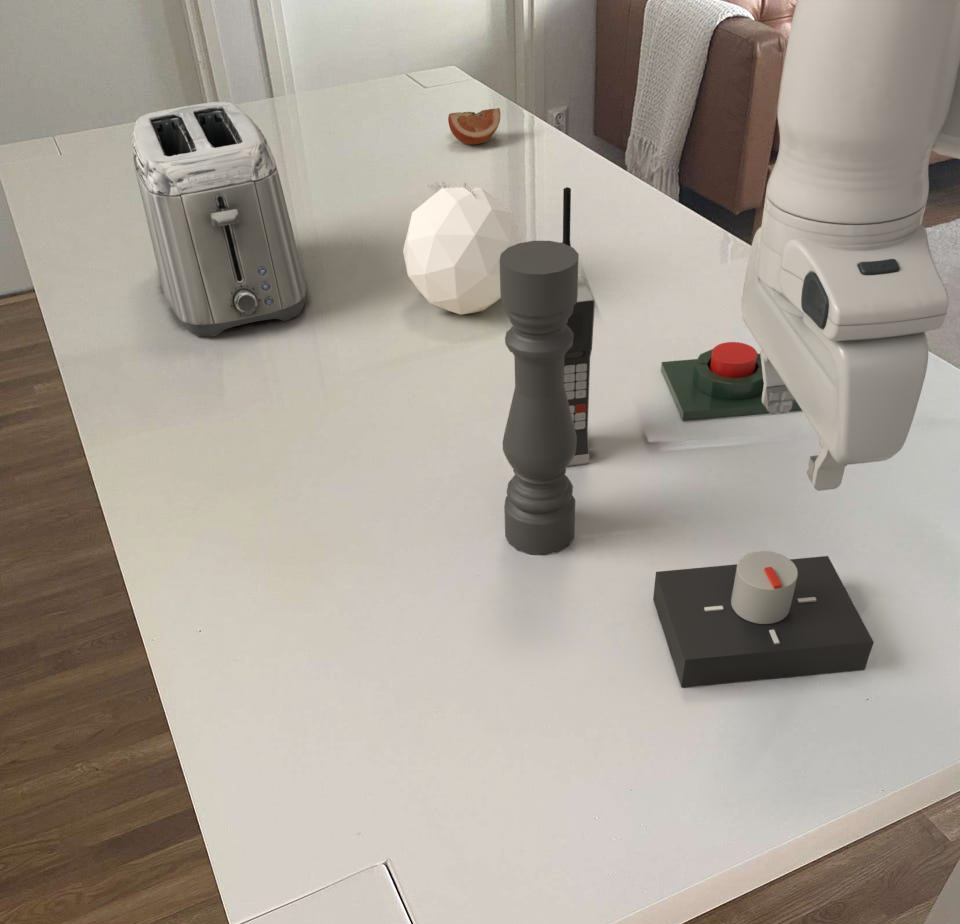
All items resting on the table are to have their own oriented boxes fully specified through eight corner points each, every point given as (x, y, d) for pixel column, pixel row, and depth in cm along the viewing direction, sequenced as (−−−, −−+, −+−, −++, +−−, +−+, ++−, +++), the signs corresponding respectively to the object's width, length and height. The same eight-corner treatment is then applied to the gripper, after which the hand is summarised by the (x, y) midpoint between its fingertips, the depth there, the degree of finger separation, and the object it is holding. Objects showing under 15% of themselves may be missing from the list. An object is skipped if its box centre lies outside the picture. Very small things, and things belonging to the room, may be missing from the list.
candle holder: (579, 551, 87) (588, 272, 70) (508, 558, 87) (499, 279, 70) (569, 508, 92) (575, 236, 74) (501, 514, 91) (492, 242, 74)
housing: (770, 370, 107) (776, 336, 105) (800, 421, 100) (807, 385, 98) (659, 380, 107) (662, 345, 104) (681, 431, 100) (685, 395, 97)
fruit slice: (496, 134, 165) (494, 101, 161) (506, 147, 160) (505, 113, 157) (446, 140, 164) (444, 107, 160) (455, 154, 159) (453, 120, 155)
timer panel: (820, 583, 83) (828, 553, 81) (864, 670, 76) (874, 640, 74) (652, 599, 82) (655, 569, 80) (681, 688, 75) (685, 658, 73)
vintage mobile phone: (551, 470, 96) (552, 203, 79) (540, 441, 100) (539, 181, 82) (589, 465, 96) (599, 198, 79) (577, 437, 100) (584, 176, 83)
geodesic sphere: (353, 258, 118) (400, 171, 106) (430, 217, 126) (481, 131, 114) (438, 356, 119) (494, 281, 107) (508, 309, 127) (568, 233, 115)
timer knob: (723, 589, 78) (729, 551, 76) (777, 582, 79) (786, 544, 76) (741, 627, 75) (749, 589, 73) (798, 620, 76) (807, 582, 73)
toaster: (179, 354, 116) (133, 183, 103) (154, 255, 136) (112, 101, 123) (322, 326, 119) (294, 157, 106) (276, 233, 140) (248, 82, 126)
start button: (747, 355, 103) (750, 340, 102) (760, 377, 100) (762, 361, 98) (705, 359, 103) (707, 343, 101) (716, 381, 100) (718, 365, 98)
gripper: (731, 186, 67) (710, 374, 76) (847, 328, 52) (803, 539, 62) (824, 177, 67) (792, 365, 77) (965, 316, 52) (903, 527, 62)
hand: (798, 444), depth 69 cm, fingers open, 8 cm apart
